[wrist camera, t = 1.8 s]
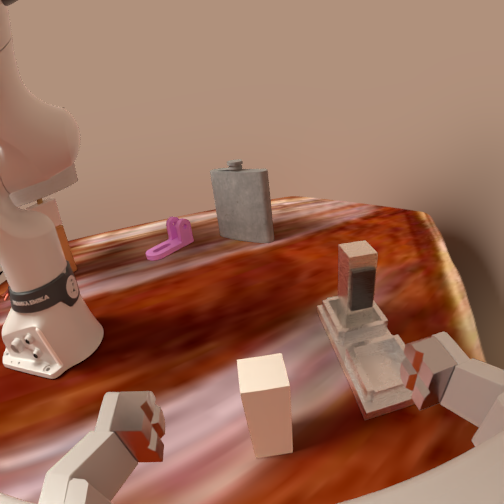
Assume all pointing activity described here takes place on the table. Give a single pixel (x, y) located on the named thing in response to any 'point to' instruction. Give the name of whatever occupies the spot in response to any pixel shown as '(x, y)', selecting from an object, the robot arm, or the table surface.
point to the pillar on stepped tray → (364, 335)
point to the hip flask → (243, 203)
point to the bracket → (172, 239)
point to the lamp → (49, 203)
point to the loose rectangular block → (266, 404)
